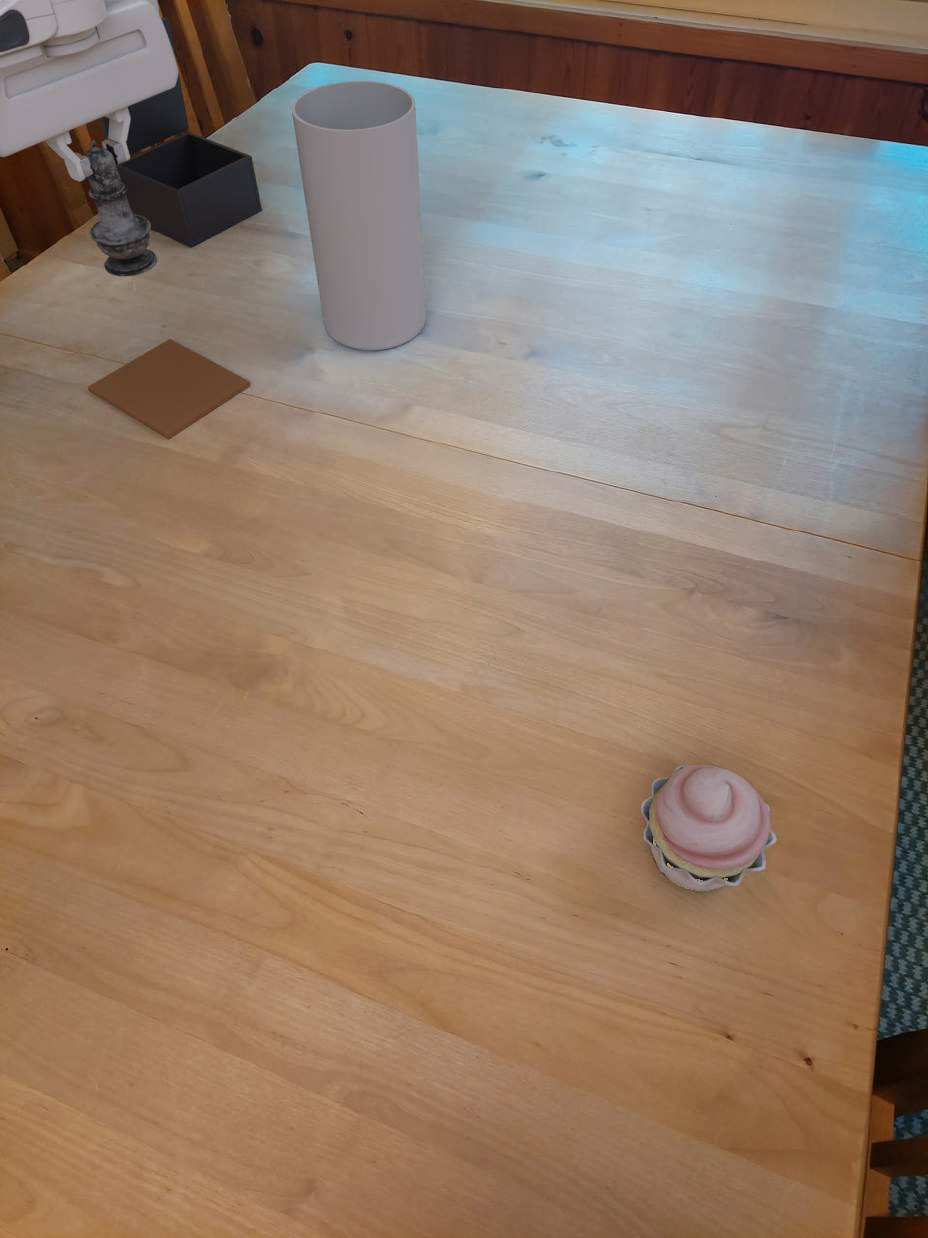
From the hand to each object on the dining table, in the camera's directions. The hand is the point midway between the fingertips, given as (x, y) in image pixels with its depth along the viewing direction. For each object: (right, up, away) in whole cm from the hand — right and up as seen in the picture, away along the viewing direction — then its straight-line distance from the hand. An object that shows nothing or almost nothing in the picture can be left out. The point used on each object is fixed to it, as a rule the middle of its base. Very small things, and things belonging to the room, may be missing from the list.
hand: (100, 169), depth 84 cm
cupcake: (+51, -59, -18) cm, 80 cm away
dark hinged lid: (-9, +28, +35) cm, 46 cm away
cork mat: (0, -16, +19) cm, 24 cm away
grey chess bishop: (0, -6, +7) cm, 10 cm away
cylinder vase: (+23, -6, +26) cm, 36 cm away
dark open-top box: (-4, +16, +44) cm, 47 cm away
